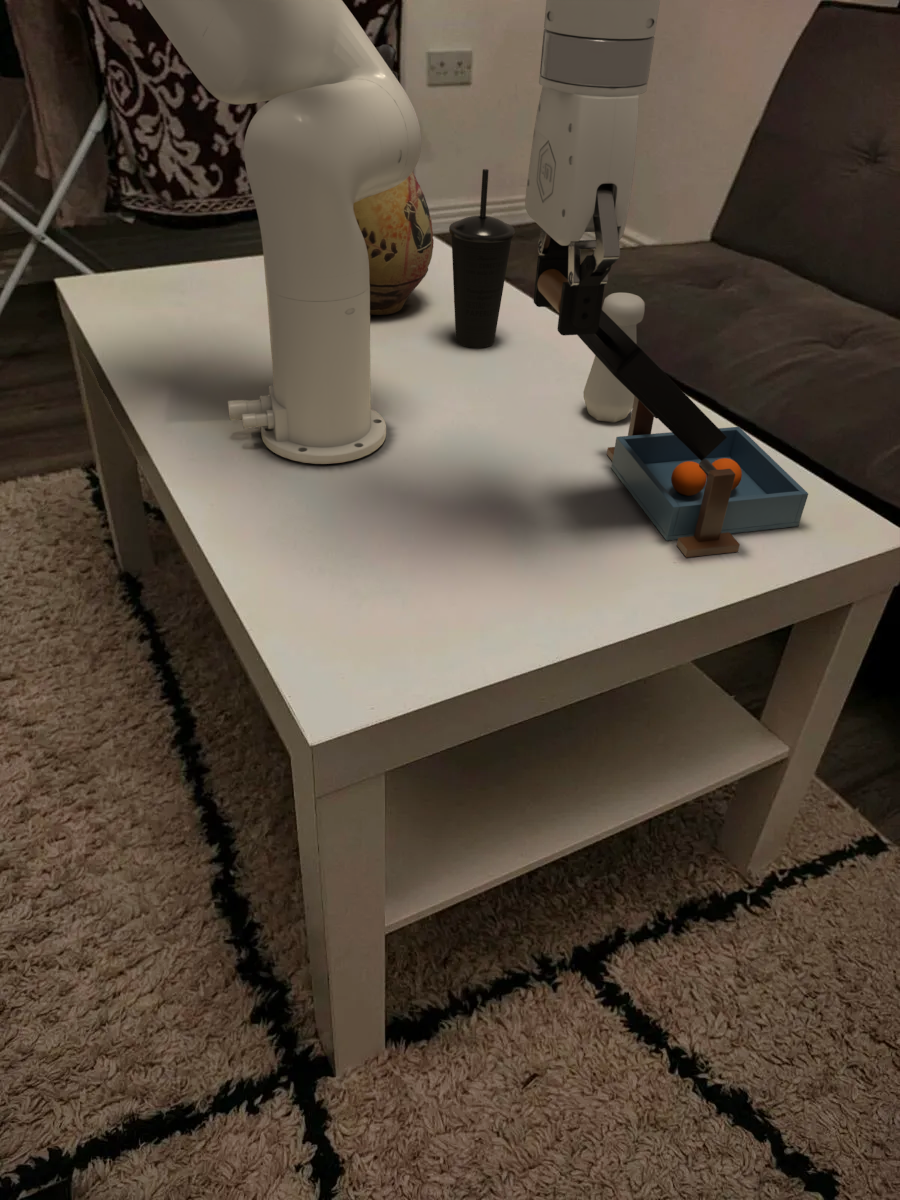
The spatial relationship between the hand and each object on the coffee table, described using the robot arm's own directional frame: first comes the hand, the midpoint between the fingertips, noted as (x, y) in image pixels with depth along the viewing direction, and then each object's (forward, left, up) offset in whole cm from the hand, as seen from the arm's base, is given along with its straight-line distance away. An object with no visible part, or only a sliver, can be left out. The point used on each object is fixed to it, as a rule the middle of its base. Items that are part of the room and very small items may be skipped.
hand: (564, 316), depth 77 cm
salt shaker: (+14, +18, -19) cm, 29 cm away
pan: (+5, 0, -5) cm, 7 cm away
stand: (+13, 0, -18) cm, 22 cm away
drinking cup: (+5, +40, -19) cm, 44 cm away
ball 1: (+14, 0, -16) cm, 22 cm away
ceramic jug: (-5, +55, -19) cm, 58 cm away
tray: (+16, 0, -18) cm, 24 cm away
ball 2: (+18, 0, -16) cm, 24 cm away
